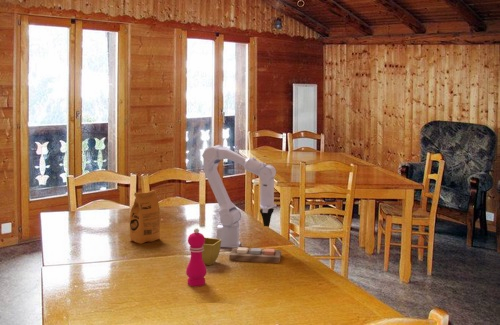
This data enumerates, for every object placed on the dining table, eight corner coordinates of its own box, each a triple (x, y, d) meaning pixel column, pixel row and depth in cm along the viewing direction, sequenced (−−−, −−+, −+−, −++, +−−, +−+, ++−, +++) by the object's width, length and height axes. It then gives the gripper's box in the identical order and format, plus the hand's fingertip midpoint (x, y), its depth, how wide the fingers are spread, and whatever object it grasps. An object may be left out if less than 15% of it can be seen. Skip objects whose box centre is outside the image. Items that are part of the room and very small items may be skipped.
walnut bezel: (229, 260, 241) (229, 254, 241) (233, 252, 251) (233, 247, 251) (279, 262, 239) (279, 257, 238) (281, 255, 249) (281, 250, 248)
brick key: (263, 258, 242) (263, 251, 242) (264, 255, 246) (264, 248, 246) (273, 259, 242) (273, 251, 242) (274, 256, 246) (274, 249, 245)
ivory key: (236, 257, 244) (236, 249, 243) (238, 254, 248) (238, 247, 247) (246, 257, 243) (246, 250, 243) (247, 254, 247) (247, 247, 247)
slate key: (250, 257, 243) (250, 250, 243) (251, 254, 247) (251, 247, 247) (260, 258, 243) (260, 251, 242) (261, 255, 247) (261, 248, 246)
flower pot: (221, 261, 240) (221, 239, 239) (213, 267, 232) (213, 244, 231) (201, 258, 243) (201, 236, 242) (192, 264, 235) (192, 242, 233)
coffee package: (126, 240, 269) (125, 191, 265) (150, 235, 277) (149, 188, 274) (139, 244, 261) (138, 194, 258) (162, 239, 270) (162, 191, 267)
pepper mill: (186, 280, 217) (186, 226, 214) (206, 280, 218) (206, 225, 215) (185, 287, 210) (185, 231, 207) (206, 286, 210) (206, 231, 208)
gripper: (275, 198, 245) (274, 230, 247) (278, 191, 260) (277, 222, 261) (257, 197, 246) (257, 229, 248) (261, 190, 260) (261, 221, 262)
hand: (266, 225), depth 255 cm, fingers closed
